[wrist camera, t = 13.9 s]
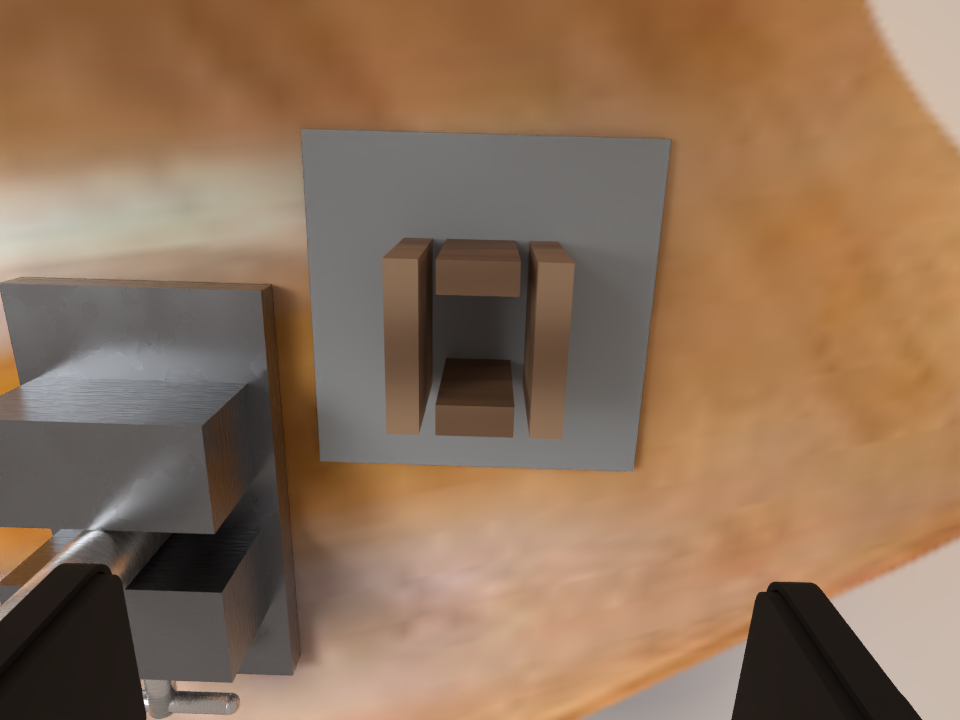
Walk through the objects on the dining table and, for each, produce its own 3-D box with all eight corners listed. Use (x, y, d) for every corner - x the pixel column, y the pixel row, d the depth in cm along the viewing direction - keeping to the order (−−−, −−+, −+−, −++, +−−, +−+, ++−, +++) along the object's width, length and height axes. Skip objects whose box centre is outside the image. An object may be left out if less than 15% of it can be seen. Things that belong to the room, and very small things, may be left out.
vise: (21, 276, 30) (-329, 367, 17) (271, 284, 30) (106, 381, 17) (96, 648, 37) (-114, 910, 24) (300, 655, 37) (197, 923, 24)
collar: (404, 237, 29) (382, 258, 23) (558, 241, 28) (574, 263, 23) (406, 382, 31) (386, 434, 25) (549, 386, 31) (562, 439, 25)
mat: (304, 129, 28) (300, 128, 27) (667, 139, 28) (671, 139, 27) (323, 456, 33) (320, 461, 32) (630, 466, 33) (633, 471, 32)
